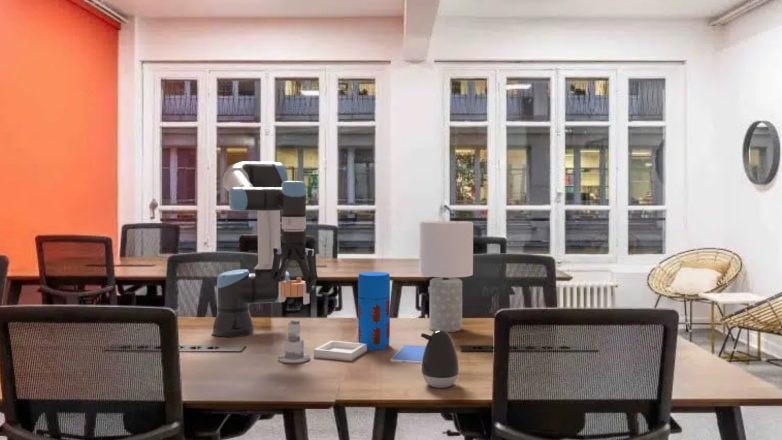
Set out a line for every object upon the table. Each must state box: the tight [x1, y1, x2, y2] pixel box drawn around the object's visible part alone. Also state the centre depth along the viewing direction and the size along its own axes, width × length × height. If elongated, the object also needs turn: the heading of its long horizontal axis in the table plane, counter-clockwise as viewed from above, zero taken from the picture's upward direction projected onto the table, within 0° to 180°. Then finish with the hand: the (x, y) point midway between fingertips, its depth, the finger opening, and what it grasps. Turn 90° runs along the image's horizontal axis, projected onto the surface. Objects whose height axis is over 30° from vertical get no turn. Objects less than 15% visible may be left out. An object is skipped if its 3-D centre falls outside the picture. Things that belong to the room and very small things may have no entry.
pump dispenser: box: [420, 330, 460, 389], centre depth 166 cm, size 10×10×15 cm
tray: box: [313, 340, 368, 362], centre depth 198 cm, size 13×13×2 cm
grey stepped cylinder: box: [277, 319, 311, 365], centre depth 192 cm, size 10×10×12 cm
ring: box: [281, 276, 305, 298], centre depth 191 cm, size 8×8×5 cm
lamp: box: [418, 220, 474, 333], centre depth 236 cm, size 21×21×42 cm
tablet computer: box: [390, 344, 426, 365], centre depth 198 cm, size 19×13×1 cm, turn 166°
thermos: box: [357, 271, 391, 351], centre depth 209 cm, size 11×11×25 cm
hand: (294, 302), depth 191 cm, fingers closed on ring, 8 cm apart
